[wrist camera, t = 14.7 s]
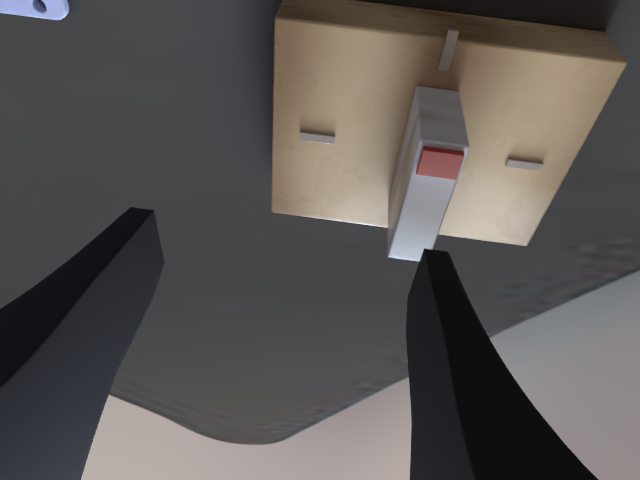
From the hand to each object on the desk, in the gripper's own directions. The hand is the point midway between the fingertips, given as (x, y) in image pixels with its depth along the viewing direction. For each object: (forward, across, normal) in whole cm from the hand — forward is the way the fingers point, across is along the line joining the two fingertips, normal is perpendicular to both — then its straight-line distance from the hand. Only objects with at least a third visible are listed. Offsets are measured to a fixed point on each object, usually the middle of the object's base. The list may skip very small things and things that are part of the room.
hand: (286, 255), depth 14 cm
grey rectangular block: (+8, -4, +1) cm, 9 cm away
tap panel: (+10, -4, +1) cm, 11 cm away
